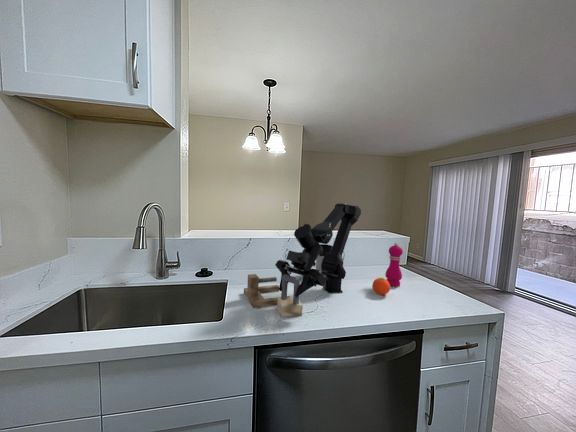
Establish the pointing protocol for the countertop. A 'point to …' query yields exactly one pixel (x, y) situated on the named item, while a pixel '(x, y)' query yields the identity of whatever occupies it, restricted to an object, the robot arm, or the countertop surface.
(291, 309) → the oak block
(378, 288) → the clementine
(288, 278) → the gray arch
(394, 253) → the pepper mill
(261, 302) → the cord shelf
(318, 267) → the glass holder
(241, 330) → the countertop surface
